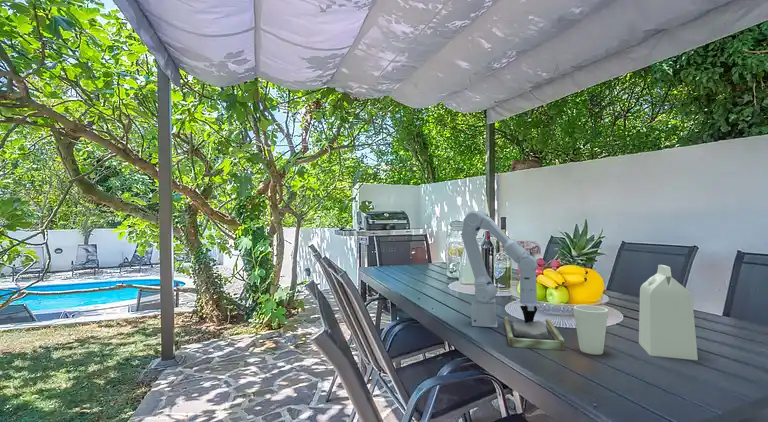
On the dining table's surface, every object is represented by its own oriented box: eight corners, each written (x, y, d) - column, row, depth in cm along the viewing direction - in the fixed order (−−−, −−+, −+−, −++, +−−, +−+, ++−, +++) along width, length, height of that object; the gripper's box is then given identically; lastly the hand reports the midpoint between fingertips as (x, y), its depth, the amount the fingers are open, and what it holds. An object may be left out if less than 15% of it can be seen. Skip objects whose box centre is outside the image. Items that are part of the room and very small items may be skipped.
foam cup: (605, 347, 120) (604, 306, 120) (612, 357, 111) (611, 313, 111) (572, 344, 123) (571, 304, 123) (576, 354, 114) (575, 310, 114)
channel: (508, 346, 122) (508, 337, 122) (504, 322, 149) (503, 315, 149) (565, 350, 117) (565, 341, 117) (549, 325, 145) (549, 318, 145)
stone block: (550, 345, 128) (545, 330, 137) (550, 332, 127) (544, 318, 137) (513, 344, 130) (510, 330, 140) (513, 331, 130) (510, 318, 139)
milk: (697, 360, 109) (695, 269, 109) (650, 355, 112) (648, 267, 113) (681, 346, 120) (679, 264, 120) (638, 343, 124) (636, 263, 124)
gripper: (543, 293, 131) (543, 332, 131) (537, 286, 145) (537, 321, 145) (521, 292, 133) (522, 331, 133) (517, 285, 147) (518, 320, 147)
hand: (528, 326), depth 139 cm, fingers closed
